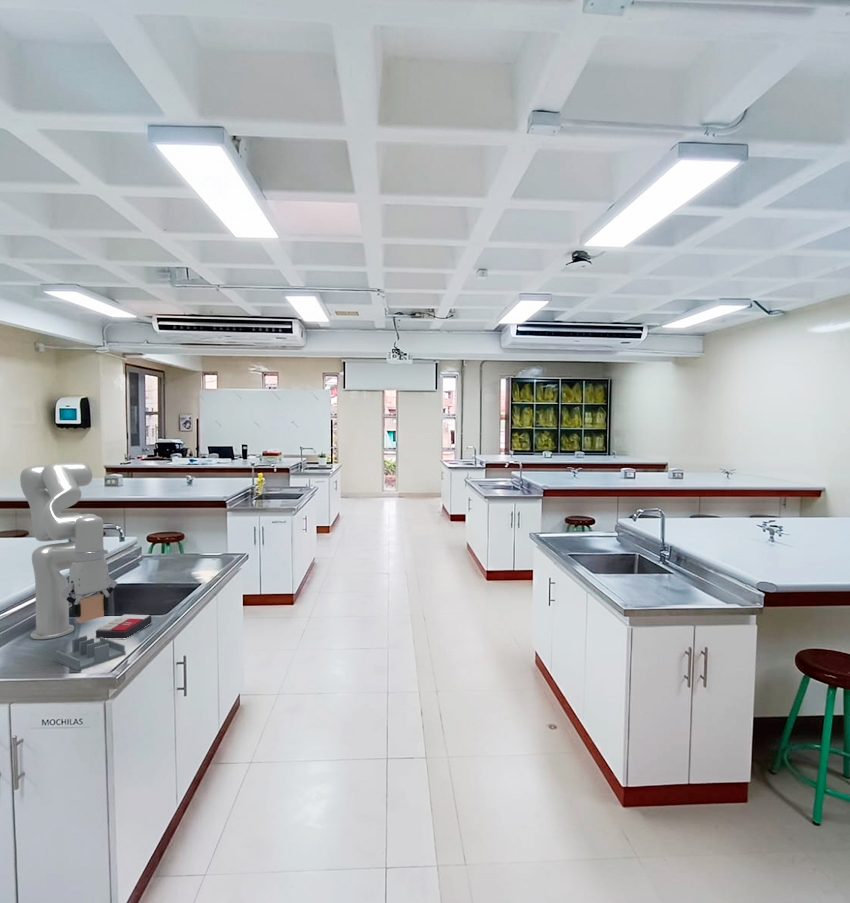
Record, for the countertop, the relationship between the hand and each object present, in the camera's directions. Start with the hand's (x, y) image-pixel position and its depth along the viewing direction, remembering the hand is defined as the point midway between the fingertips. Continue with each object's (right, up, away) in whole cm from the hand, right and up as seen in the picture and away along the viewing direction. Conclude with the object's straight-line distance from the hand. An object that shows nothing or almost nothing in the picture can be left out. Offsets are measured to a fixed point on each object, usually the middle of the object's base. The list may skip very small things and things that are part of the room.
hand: (90, 612), depth 162 cm
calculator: (-3, -15, +24) cm, 28 cm away
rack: (0, -14, 0) cm, 14 cm away
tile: (0, -2, 0) cm, 2 cm away
